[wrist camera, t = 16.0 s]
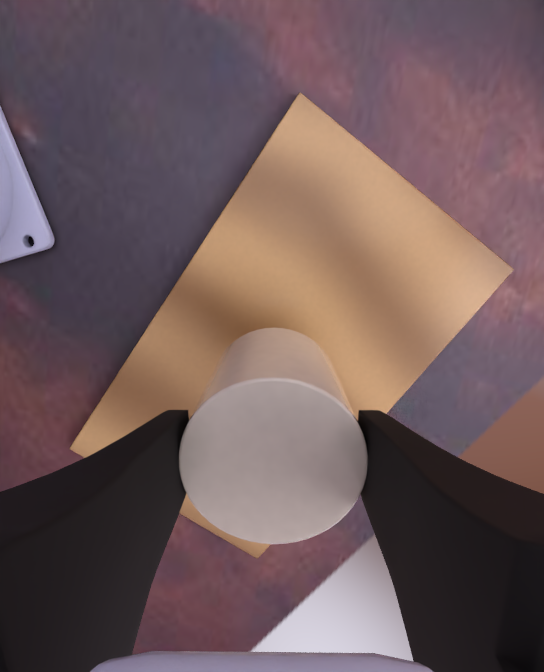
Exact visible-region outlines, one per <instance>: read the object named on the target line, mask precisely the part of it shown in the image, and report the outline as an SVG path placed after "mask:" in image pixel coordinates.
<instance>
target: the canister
mask: <svg viewBox="0 0 544 672" xmlns="http://www.w3.org/2000/svg"><path fill="white" fill-rule="evenodd" d="M367 468H368V450H367V444H366V441H365V437H364V434H363V432H362V429H361V427H360V425H359V423H358V420H357V418H356V416H355V414H354V411H353V409H352V407H351V405H350V403H349V400H348V398H347V396H346V394H345V391H344V389H343V387H342V385H341V382H340V380H339V378H338V376H337V373H336V371H335V369H334V367H333V364H332V362H331V360H330V358H329V357H328V355H327V354H326V352H325V351H324V350H323V349H322V348H321V347H320V346H319V345H318V344H317V343H316V342H315V341H314V340H312V339H310V338H309V337H307V336H306V335H303V334H301V333H299V332H296V331H293V330H290V329H284V328H264V329H259V330H255V331H252V332H249V333H247V334H245V335H243V336H241V337H240V338H238V339H237V340H235V341H234V342H233V343H232V344H230V345H229V346H228V347H227V348H226V350H225V351H224V352H223V353H222V355H221V356H220V358H219V360H218V362H217V364H216V366H215V368H214V370H213V372H212V374H211V376H210V378H209V380H208V382H207V384H206V387H205V389H204V391H203V393H202V395H201V397H200V399H199V401H198V403H197V405H196V407H195V409H194V411H193V413H192V415H191V417H190V420H189V422H188V424H187V426H186V428H185V430H184V432H183V435H182V439H181V442H180V447H179V470H180V477H181V480H182V483H183V487H184V489H185V491H186V493H187V495H188V497H189V499H190V501H191V502H192V504H193V505H194V507H195V508H196V509H197V510H198V511H199V512H200V514H201V515H202V516H203V517H205V518H206V519H207V520H208V521H209V522H210V523H212V524H213V525H214V526H216V527H217V528H219V529H220V530H222V531H224V532H226V533H228V534H230V535H232V536H235V537H237V538H240V539H243V540H247V541H250V542H256V543H263V544H285V543H292V542H297V541H301V540H305V539H308V538H311V537H313V536H316V535H318V534H320V533H322V532H324V531H326V530H328V529H329V528H331V527H332V526H333V525H335V524H336V523H338V522H339V521H340V520H341V519H342V518H343V517H344V516H345V515H346V514H347V513H348V512H349V511H350V510H351V508H352V507H353V506H354V504H355V503H356V501H357V500H358V498H359V496H360V494H361V492H362V489H363V487H364V484H365V480H366V476H367Z"/></svg>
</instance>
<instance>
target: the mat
mask: <svg viewBox="0 0 544 672" xmlns="http://www.w3.org/2000/svg"><path fill="white" fill-rule="evenodd" d="M513 270H514V269H513V268H512V267H511V266H510V265H508V264H507V263H506V262H505V261H504V260H502V259H501V258H500V257H499V256H497V255H496V254H495V253H494V252H493V251H491V250H490V249H489V248H488V247H487V246H485V245H484V244H483V243H482V242H481V241H479V240H478V239H477V238H476V237H475V236H473V235H472V234H471V233H470V232H468V231H467V230H466V229H465V228H464V227H462V226H461V225H460V224H459V223H458V222H456V221H455V220H454V219H453V218H452V217H450V216H449V215H448V214H447V213H446V212H444V211H443V210H442V209H441V208H439V207H438V206H437V205H436V204H435V203H433V202H432V201H431V200H430V199H429V198H427V197H426V196H425V195H424V194H423V193H421V192H420V191H419V190H418V189H416V188H415V187H414V186H413V185H412V184H410V183H409V182H408V181H407V180H406V179H404V178H403V177H402V176H401V175H400V174H398V173H397V172H396V171H395V170H394V169H392V168H391V167H390V166H389V165H387V164H386V163H385V162H384V161H383V160H381V159H380V158H379V157H378V156H377V155H375V154H374V153H373V152H372V151H371V150H369V149H368V148H367V147H366V146H365V145H363V144H362V143H361V142H360V141H358V140H357V139H356V138H355V137H354V136H352V135H351V134H350V133H349V132H348V131H346V130H345V129H344V128H343V127H342V126H340V125H339V124H338V123H337V122H336V121H334V120H333V119H332V118H331V117H329V116H328V115H327V114H326V113H325V112H323V111H322V110H321V109H320V108H319V107H317V106H316V105H315V104H314V103H313V102H311V101H310V100H309V99H308V98H307V97H305V96H304V95H303V94H302V93H299V94H298V95H297V97H296V98H295V100H294V102H293V103H292V105H291V106H290V108H289V109H288V111H287V112H286V114H285V116H284V117H283V119H282V120H281V122H280V123H279V125H278V126H277V128H276V129H275V131H274V133H273V134H272V136H271V137H270V139H269V140H268V142H267V143H266V145H265V146H264V148H263V150H262V151H261V153H260V154H259V156H258V157H257V159H256V160H255V162H254V163H253V165H252V167H251V168H250V170H249V171H248V173H247V174H246V176H245V177H244V179H243V180H242V182H241V184H240V185H239V187H238V188H237V190H236V191H235V193H234V194H233V196H232V197H231V199H230V201H229V202H228V204H227V205H226V207H225V208H224V210H223V211H222V213H221V214H220V216H219V218H218V219H217V221H216V222H215V224H214V225H213V227H212V228H211V230H210V232H209V233H208V235H207V236H206V238H205V239H204V241H203V242H202V244H201V245H200V247H199V249H198V250H197V252H196V253H195V255H194V256H193V258H192V259H191V261H190V262H189V264H188V266H187V267H186V269H185V270H184V272H183V273H182V275H181V276H180V278H179V279H178V281H177V283H176V284H175V286H174V287H173V289H172V290H171V292H170V293H169V295H168V296H167V298H166V300H165V301H164V303H163V304H162V306H161V307H160V309H159V310H158V312H157V313H156V315H155V317H154V318H153V320H152V321H151V323H150V324H149V326H148V327H147V329H146V330H145V332H144V334H143V335H142V337H141V338H140V340H139V341H138V343H137V344H136V346H135V347H134V349H133V351H132V352H131V354H130V355H129V357H128V358H127V360H126V361H125V363H124V365H123V366H122V368H121V369H120V371H119V372H118V374H117V375H116V377H115V378H114V380H113V382H112V383H111V385H110V386H109V388H108V389H107V391H106V392H105V394H104V395H103V397H102V399H101V400H100V402H99V403H98V405H97V406H96V408H95V409H94V411H93V412H92V414H91V416H90V417H89V419H88V420H87V422H86V423H85V425H84V426H83V428H82V429H81V431H80V433H79V434H78V436H77V437H76V439H75V440H74V442H73V443H72V445H71V446H70V450H72V451H74V452H76V453H77V454H79V455H81V456H82V457H84V458H86V457H88V456H90V455H92V454H94V453H95V452H97V451H99V450H101V449H103V448H104V447H106V446H108V445H110V444H111V443H113V442H115V441H117V440H119V439H120V438H122V437H124V436H125V435H127V434H129V433H130V432H132V431H133V430H135V429H137V428H138V427H140V426H142V425H143V424H145V423H146V422H148V421H150V420H151V419H153V418H154V417H156V416H158V415H159V414H161V413H163V412H165V411H167V410H188V414H189V420H190V417H191V415H192V413H193V411H194V409H195V407H196V405H197V403H198V401H199V399H200V397H201V395H202V393H203V391H204V389H205V387H206V384H207V382H208V380H209V378H210V376H211V374H212V372H213V370H214V368H215V366H216V364H217V362H218V360H219V358H220V356H221V355H222V353H223V352H224V351H225V350H226V348H227V347H228V346H229V345H230V344H232V343H233V342H234V341H235V340H237V339H238V338H240V337H241V336H243V335H245V334H247V333H249V332H252V331H255V330H259V329H264V328H284V329H290V330H293V331H296V332H299V333H301V334H303V335H306V336H307V337H309V338H310V339H312V340H314V341H315V342H316V343H317V344H318V345H319V346H320V347H321V348H322V349H323V350H324V351H325V352H326V354H327V355H328V357H329V358H330V360H331V362H332V364H333V367H334V369H335V371H336V373H337V376H338V378H339V380H340V382H341V385H342V387H343V389H344V391H345V394H346V396H347V398H348V400H349V403H350V405H351V407H352V409H353V411H354V414H355V416H356V418H357V420H358V412H359V410H380V411H382V412H383V413H385V414H386V413H387V412H388V411H389V410H390V409H391V408H392V407H393V405H394V404H395V403H396V402H397V401H398V400H399V399H400V398H401V396H402V395H403V394H404V393H405V392H406V391H407V390H408V389H409V387H410V386H411V385H412V384H413V383H414V382H415V381H416V380H417V378H418V377H419V376H420V375H421V374H422V373H423V372H424V370H425V369H426V368H427V367H428V366H429V365H430V364H431V363H432V361H433V360H434V359H435V358H436V357H437V356H438V355H439V354H440V352H441V351H442V350H443V349H444V348H445V347H446V346H447V345H448V343H449V342H450V341H451V340H452V339H453V338H454V337H455V336H456V334H457V333H458V332H459V331H460V330H461V329H462V328H463V326H464V325H465V324H466V323H467V322H468V321H469V320H470V319H471V317H472V316H473V315H474V314H475V313H476V312H477V311H478V310H479V308H480V307H481V306H482V305H483V304H484V303H485V302H486V301H487V299H488V298H489V297H490V296H491V295H492V294H493V293H494V292H495V290H496V289H497V288H498V287H499V286H500V285H501V284H502V283H503V281H504V280H505V279H506V278H507V277H508V276H509V275H510V273H511V272H512V271H513ZM179 513H180V514H181V515H183V516H185V517H187V518H188V519H190V520H192V521H193V522H195V523H197V524H199V525H200V526H202V527H204V528H205V529H207V530H209V531H211V532H212V533H214V534H216V535H217V536H219V537H221V538H222V539H224V540H226V541H228V542H229V543H231V544H233V545H234V546H236V547H238V548H240V549H241V550H243V551H245V552H246V553H248V554H250V555H252V556H253V557H255V558H257V559H258V558H259V557H260V555H261V554H262V553H263V552H264V551H265V550H266V549H267V548H268V546H269V545H270V544H263V543H256V542H250V541H247V540H243V539H240V538H237V537H235V536H232V535H230V534H228V533H226V532H224V531H222V530H220V529H219V528H217V527H216V526H214V525H213V524H212V523H210V522H209V521H208V520H207V519H206V518H205V517H203V516H202V515H201V514H200V512H199V511H198V510H197V509H196V508H195V507H194V505H193V504H192V502H191V501H190V499H189V497H188V495H187V493H186V496H185V499H184V502H183V504H182V507H181V509H180V512H179Z"/></svg>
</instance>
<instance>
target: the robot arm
mask: <svg viewBox="0 0 544 672" xmlns="http://www.w3.org/2000/svg"><path fill="white" fill-rule="evenodd" d="M30 236H31V237H32V238H33V239H34V245H33V246H31V245H30V244H29V242H28V238H29V237H30ZM54 240H55V239H54V235H53V232H52V230H51V228H50V225H49V223H48V220H47V218H46V215H45V213H44V211H43V208H42V206H41V203H40V201H39V198H38V196H37V194H36V191H35V189H34V186H33V184H32V181H31V179H30V177H29V174H28V172H27V169H26V167H25V165H24V162H23V160H22V157H21V155H20V152H19V150H18V148H17V145H16V143H15V140H14V138H13V135H12V133H11V131H10V128H9V126H8V123H7V121H6V118H5V116H4V114H3V111H2V109H1V106H0V263H3V262H6V261H10V260H13V259H16V258H20V257H23V256H27V255H30V254H33V253H37V252H40V251H44V250H47V249H49V248H51V247H52V246H53V244H54ZM188 422H189V414H188V410H167V411H165V412H163V413H161V414H159V415H158V416H156V417H154V418H153V419H151V420H150V421H148V422H146V423H145V424H143V425H142V426H140V427H138V428H137V429H135V430H133V431H132V432H130V433H129V434H127V435H125V436H124V437H122V438H120V439H119V440H117V441H115V442H113V443H111V444H110V445H108V446H106V447H104V448H103V449H101V450H99V451H97V452H95V453H94V454H92V455H90V456H88V457H86V458H84V459H82V460H80V461H78V462H75V463H73V464H71V465H69V466H67V467H64V468H62V469H60V470H58V471H55V472H53V473H51V474H48V475H45V476H43V477H40V478H37V479H35V480H32V481H29V482H27V483H24V484H22V485H19V486H16V487H14V488H11V489H8V490H5V491H2V492H0V672H544V494H542V493H539V492H537V491H534V490H531V489H529V488H526V487H523V486H521V485H518V484H515V483H513V482H510V481H508V480H505V479H503V478H500V477H498V476H496V475H493V474H491V473H489V472H487V471H485V470H482V469H480V468H478V467H476V466H474V465H472V464H470V463H467V462H465V461H463V460H462V459H460V458H458V457H456V456H454V455H452V454H450V453H449V452H447V451H445V450H443V449H441V448H440V447H438V446H436V445H434V444H433V443H431V442H429V441H428V440H426V439H424V438H423V437H421V436H420V435H418V434H416V433H415V432H413V431H412V430H410V429H409V428H407V427H406V426H404V425H403V424H401V423H399V422H398V421H396V420H395V419H393V418H392V417H390V416H389V415H387V414H385V413H383V412H382V411H380V410H359V412H358V423H359V425H360V427H361V429H362V432H363V434H364V437H365V441H366V444H367V450H368V468H367V476H366V480H365V484H364V487H363V489H362V492H361V497H362V500H363V503H364V506H365V509H366V511H367V514H368V517H369V519H370V522H371V525H372V527H373V530H374V533H375V535H376V538H377V540H378V543H379V546H380V549H381V551H382V554H383V556H384V559H385V562H386V565H387V567H388V570H389V573H390V576H391V579H392V582H393V585H394V588H395V592H396V596H397V599H398V603H399V607H400V610H401V614H402V618H403V621H404V625H405V629H406V633H407V637H408V641H409V645H410V648H411V652H412V656H413V660H414V662H412V661H407V660H403V659H398V658H394V657H389V656H384V655H380V654H375V653H295V652H287V653H286V652H201V651H150V652H145V653H140V654H135V655H132V651H133V648H134V644H135V640H136V637H137V633H138V629H139V626H140V622H141V619H142V615H143V612H144V608H145V605H146V601H147V598H148V595H149V591H150V588H151V584H152V582H153V579H154V576H155V573H156V570H157V567H158V565H159V562H160V560H161V557H162V555H163V552H164V550H165V547H166V545H167V542H168V540H169V537H170V535H171V532H172V530H173V527H174V525H175V522H176V520H177V517H178V515H179V512H180V509H181V507H182V504H183V502H184V499H185V496H186V491H185V489H184V487H183V483H182V480H181V477H180V470H179V447H180V442H181V439H182V435H183V432H184V430H185V428H186V426H187V424H188Z"/></svg>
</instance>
